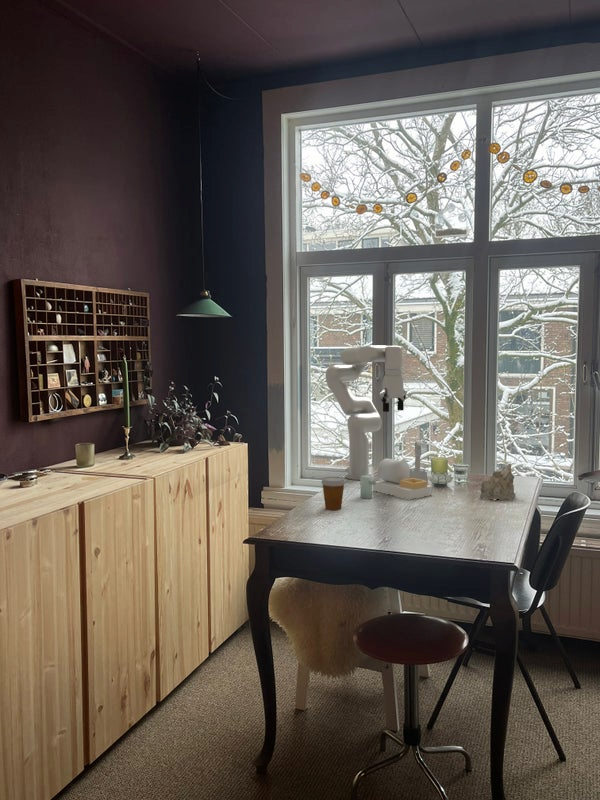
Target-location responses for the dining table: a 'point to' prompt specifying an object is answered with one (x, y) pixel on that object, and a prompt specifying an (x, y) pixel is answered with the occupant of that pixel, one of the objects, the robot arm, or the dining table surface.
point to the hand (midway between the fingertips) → (393, 410)
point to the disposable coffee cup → (333, 492)
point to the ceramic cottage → (499, 485)
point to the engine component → (418, 465)
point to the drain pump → (366, 486)
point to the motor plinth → (400, 480)
